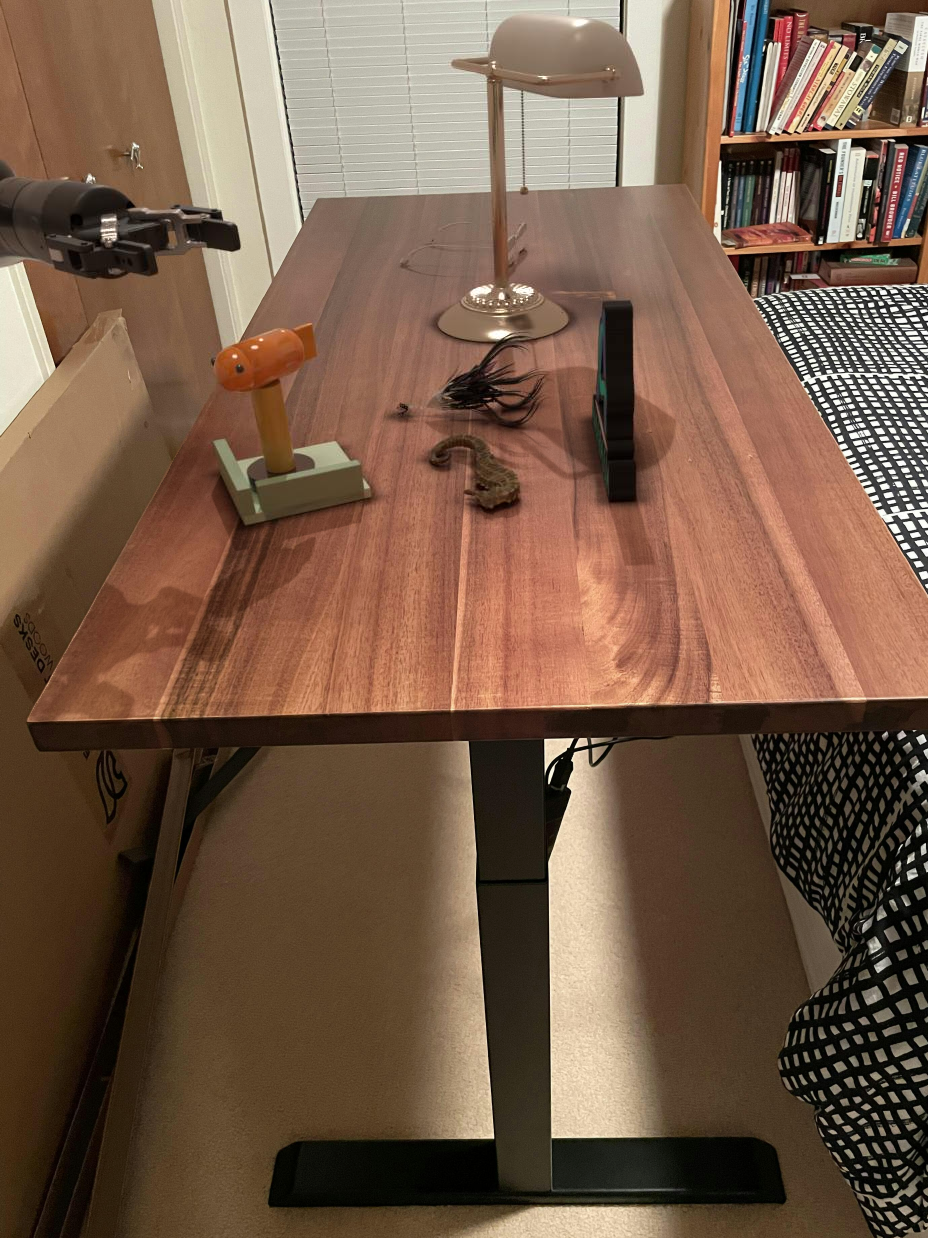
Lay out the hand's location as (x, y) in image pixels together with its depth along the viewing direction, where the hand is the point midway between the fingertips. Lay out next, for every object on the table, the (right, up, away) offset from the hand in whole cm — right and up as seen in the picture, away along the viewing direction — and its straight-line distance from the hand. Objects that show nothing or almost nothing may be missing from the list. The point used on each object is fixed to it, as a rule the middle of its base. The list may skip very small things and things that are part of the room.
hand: (195, 249), depth 78 cm
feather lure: (+22, -6, +27) cm, 35 cm away
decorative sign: (+36, -13, +18) cm, 42 cm away
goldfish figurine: (+4, -16, +14) cm, 21 cm away
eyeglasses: (+18, +34, +80) cm, 89 cm away
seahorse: (+22, -16, +15) cm, 31 cm away
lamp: (+28, +15, +54) cm, 62 cm away
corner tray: (+5, -16, +15) cm, 23 cm away
